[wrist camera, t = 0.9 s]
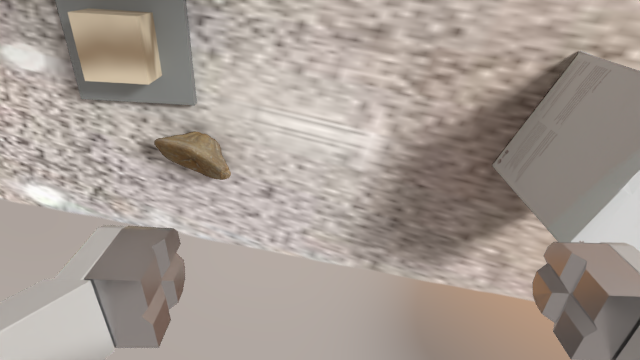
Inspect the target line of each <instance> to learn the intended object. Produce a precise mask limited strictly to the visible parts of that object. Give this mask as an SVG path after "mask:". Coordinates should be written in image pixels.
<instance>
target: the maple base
mask: <svg viewBox="0 0 640 360" xmlns="http://www.w3.org/2000/svg"><path fill="white" fill-rule="evenodd" d="M68 16H69V20H70V24H71V28H72V32H73V36H74V40H75V44H76V48H77V52H78V56H79V59H80V63H81V67H82V71H83V75H84V79H85V81H95V82H112V83H129V84H147V85H149V84H150V83H152V82H153V81H155V80H156V79H158V78H159V77H161V76H162V72H161V65H160V58H159V52H158V45H157V39H156V32H155V25H154V19H153V12H138V11H122V10H106V9H90V8H88V9H83V10H77V11H71V12H68Z"/></svg>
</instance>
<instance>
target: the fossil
mask: <svg viewBox="0 0 640 360" xmlns="http://www.w3.org/2000/svg"><path fill="white" fill-rule="evenodd" d="M155 145H156V147H157V148H158V149H159V150H160V152H161V153H162V154H163V155H164V156H165V157H166V158H168V159H169V160H171V161H172V162H175V163H177V164H179V165H182V166H184V167H186V168H189V169H192V170H194V171H196V172H199V173H202V174H203V175H206V176H208V177H211V178H214V179H220V180H223V179H227V178H229V177H230V175H231V173H230V170H229V167H228V166H227V164H226V162H225V160H224V158H223V156H222V152H221V147H220V145H219V143H218V142H217V141H216V140H215V139H213V138H211V137H210V136H209V135H207V134H202V133H199V132H190V133H187V134H183V135H175V136H171V137H165V138H158V139H156V140H155Z"/></svg>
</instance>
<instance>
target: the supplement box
mask: <svg viewBox="0 0 640 360" xmlns="http://www.w3.org/2000/svg"><path fill="white" fill-rule="evenodd" d="M493 167H494V169H495V170H496V171H497V172H498V173H499V174H500V176H501V177H502V178H503V179H504V180H505V181H506V182H507V184H508V185H509V186H510V187H511V188H512V189H513V191H514V192H515V193H516V194H517V195H518V196H519V197H520V198H521V200H522V201H523V202H524V203H525V204H526V205H527V206H528V208H529V209H530V210H531V211H532V212H533V213H534V214H535V216H536V217H537V218H538V219H539V220H540V221H541V222H542V224H543V225H544V226H545V227H546V228H547V229H548V231H549V232H550V233H551V234H552V235H553V236H554V237H555V239H556V240H557V241H558V242H579V243H601V242H610V243H627V244H629V245H631V246H634V247H635V248H636V249H637V250H638V251H639V252H640V71H638V70H635V69H632V68H629V67H626V66H623V65H620V64H617V63H614V62H611V61H608V60H605V59H602V58H598V57H596V56H593V55H591V54H588V53H586V52H583V51H579V52H578V55H577V56H576V57H575V59H574V60H573V61H572V63H571V64H570V65H569V66H568V68H567V69H566V70H565V72H564V73H563V74H562V76H561V77H560V78H559V79H558V81H557V82H556V83H555V85H554V86H553V87H552V88H551V90H550V91H549V92H548V94H547V95H546V96H545V97H544V99H543V100H542V101H541V103H540V104H539V105H538V107H537V108H536V109H535V110H534V112H533V113H532V114H531V116H530V117H529V118H528V119H527V121H526V122H525V123H524V125H523V126H522V127H521V128H520V130H519V131H518V132H517V134H516V135H515V136H514V138H513V139H512V140H511V141H510V143H509V144H508V145H507V147H506V148H505V149H504V151H503V152H502V153H501V154H500V156H499V157H498V158H497V160H496V161H495V162H494V163H493Z"/></svg>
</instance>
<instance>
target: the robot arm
mask: <svg viewBox="0 0 640 360" xmlns="http://www.w3.org/2000/svg"><path fill="white" fill-rule="evenodd" d="M179 246H180V239H179V235H178V231H176V230H175V229H174V228H156V227H139V226H115V225H103V226H101V227H98V228H97V229H96V230H95V231H94V232H93V234H92V235H91V236H90V237H89V238H88V240H87V241H86V242H85V243H84V244H83V245H82V247H81V248H80V249H79V250H78V251H77V252H76V253H75V255H74V256H73V257H72V258H71V259H70V260H69V262H68V263H67V264H66V265H65V266H64V267H63V268H62V270H61V271H60V272H59V273H58V274H57V275H56V276H55V278H54V279H44V280H42V281H40V282H38V283H37V284H34V285H32V286H30V287H29V288H26V289H24V290H22V291H21V292H19V293H17V294H15V295H13V296H11V297H9V298H7V299H5V300H3V301H1V302H0V360H105V359H106V358H107V357H108V356H109V355H110V354H112V353H113V352H114V351H115V348H158V347H159V346H160V344H161V341H162V339H163V337H164V335H165V332H166V330H167V328H168V325H169V323H170V320H171V319H170V314H169V309H170V308H172V307H173V306H174V305H176V304H177V303H178V302H179V299H180V297H181V294H182V292H183V287H184V281H185V266H184V260H183V259H182V258H181V257H180V256H179V255H178V254H177V253H176V252H177V250H178V248H179ZM544 258H545V260H546V262H547V264H546V265H545V266H543V267H542V268H541V269H539V270H538V271H537V272H536V275H535V277H534V280H533V297H534V300H535V303H536V305H537V306H538V308H539V310H540V311H541V313H542V314H543V315H544V316H546V317H547V318H548V319H550V320H551V321H553V322H554V329H553V332H554V334H555V335H556V337H557V338H558V340H559V341H560V343H561V345H562V346H563V348H564V349H565V351H566V352H567V354H568V355H569V357H570V359H572V360H640V252H639V251H638V250H637V249H636V248H635V247H634V246H631V245H629V244H627V243H610V242H601V243H579V242H553V243H552V244H551V245H550V246H548V248H547V250H546V252H545V254H544Z"/></svg>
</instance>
